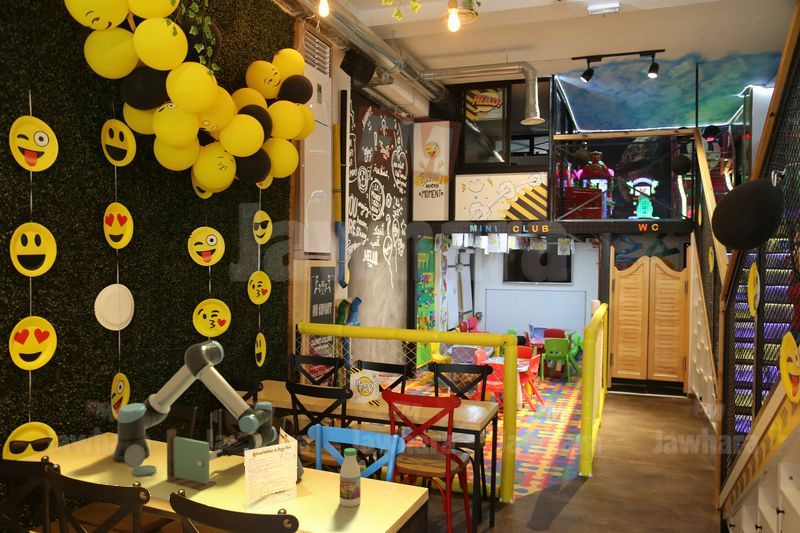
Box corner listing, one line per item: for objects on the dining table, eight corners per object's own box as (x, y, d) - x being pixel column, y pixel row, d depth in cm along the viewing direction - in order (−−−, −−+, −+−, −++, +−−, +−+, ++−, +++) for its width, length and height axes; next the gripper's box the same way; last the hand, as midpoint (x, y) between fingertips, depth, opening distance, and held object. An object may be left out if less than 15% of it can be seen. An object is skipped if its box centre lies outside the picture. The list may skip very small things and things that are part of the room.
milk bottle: (339, 499, 228) (339, 446, 228) (360, 498, 229) (360, 446, 228) (339, 507, 220) (339, 453, 220) (360, 507, 221) (360, 452, 221)
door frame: (162, 480, 247) (162, 431, 247) (177, 474, 254) (177, 427, 254) (201, 490, 237) (201, 439, 236) (216, 484, 244) (216, 434, 243)
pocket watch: (143, 441, 265) (165, 447, 257) (143, 466, 265) (165, 472, 257) (122, 447, 256) (144, 453, 248) (122, 473, 256) (144, 479, 248)
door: (168, 477, 247) (168, 438, 247) (175, 474, 250) (175, 436, 250) (202, 485, 238) (202, 445, 238) (209, 482, 241) (209, 442, 241)
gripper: (260, 452, 267) (221, 468, 246) (238, 448, 273) (198, 463, 253) (260, 435, 267) (221, 450, 246) (238, 431, 273) (197, 445, 253)
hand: (209, 457), depth 249 cm, fingers closed
